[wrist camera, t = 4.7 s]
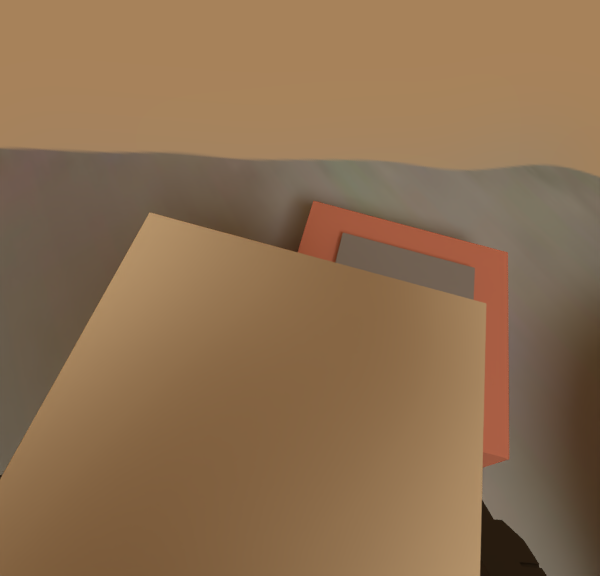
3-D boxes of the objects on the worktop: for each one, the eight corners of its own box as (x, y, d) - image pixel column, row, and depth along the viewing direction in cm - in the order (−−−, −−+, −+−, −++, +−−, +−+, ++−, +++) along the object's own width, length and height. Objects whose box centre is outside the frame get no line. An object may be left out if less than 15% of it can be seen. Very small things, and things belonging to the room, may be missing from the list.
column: (169, 564, 16) (-112, 650, 3) (212, 438, 19) (145, 205, 6) (291, 600, 16) (488, 832, 3) (318, 468, 19) (493, 298, 6)
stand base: (253, 408, 19) (255, 385, 16) (305, 236, 25) (314, 195, 22) (473, 470, 19) (514, 457, 16) (479, 283, 24) (512, 247, 21)
